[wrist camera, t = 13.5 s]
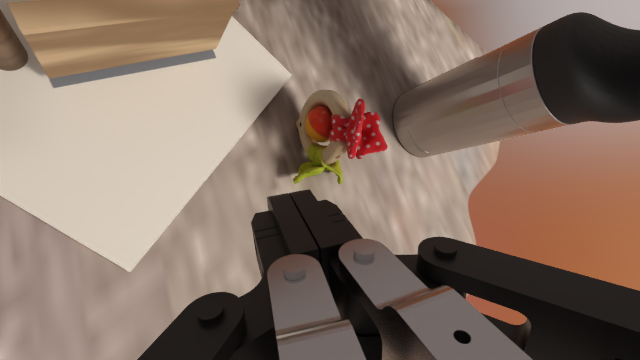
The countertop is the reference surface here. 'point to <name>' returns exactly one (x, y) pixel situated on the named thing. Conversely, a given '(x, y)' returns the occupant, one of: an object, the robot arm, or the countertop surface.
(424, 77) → the countertop surface
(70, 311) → the countertop surface
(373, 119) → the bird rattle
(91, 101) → the card
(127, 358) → the countertop surface
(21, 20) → the fence panel
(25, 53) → the fixed fence section
